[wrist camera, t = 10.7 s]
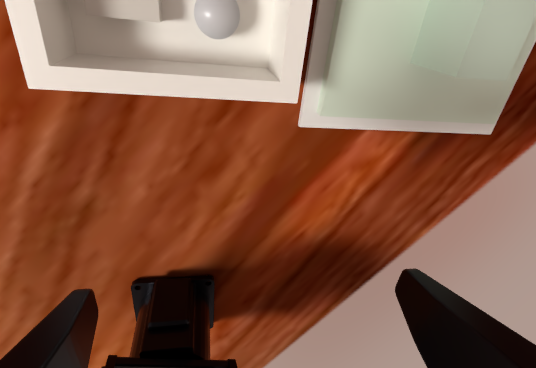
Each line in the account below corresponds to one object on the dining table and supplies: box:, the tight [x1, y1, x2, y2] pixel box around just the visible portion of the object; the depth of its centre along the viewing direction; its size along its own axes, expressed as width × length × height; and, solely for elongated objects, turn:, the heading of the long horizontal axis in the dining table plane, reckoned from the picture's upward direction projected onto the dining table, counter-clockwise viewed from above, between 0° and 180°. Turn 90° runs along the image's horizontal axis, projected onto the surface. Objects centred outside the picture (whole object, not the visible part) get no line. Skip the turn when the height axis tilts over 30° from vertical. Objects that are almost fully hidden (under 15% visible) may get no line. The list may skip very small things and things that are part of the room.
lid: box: [317, 0, 536, 124], centre depth 16 cm, size 13×13×5 cm
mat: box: [298, 0, 536, 134], centre depth 18 cm, size 15×15×1 cm
